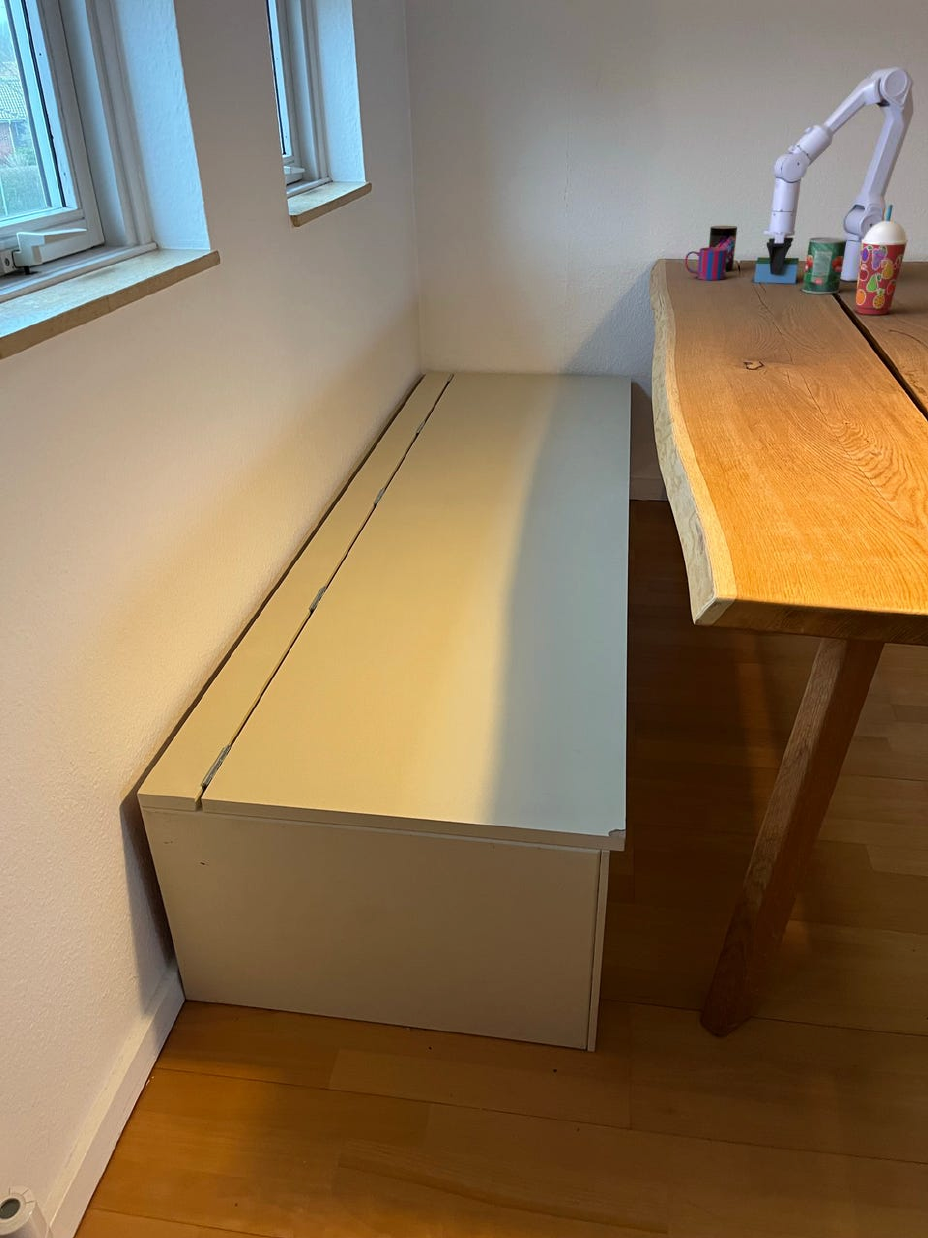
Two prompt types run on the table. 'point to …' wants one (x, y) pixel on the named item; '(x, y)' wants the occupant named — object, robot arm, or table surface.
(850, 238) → the robot arm
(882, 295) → the smoothie
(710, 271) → the mug
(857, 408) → the table surface
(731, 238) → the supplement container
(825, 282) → the canned tomato
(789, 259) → the sponge
